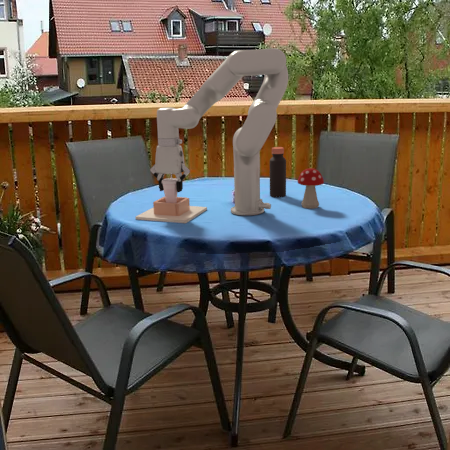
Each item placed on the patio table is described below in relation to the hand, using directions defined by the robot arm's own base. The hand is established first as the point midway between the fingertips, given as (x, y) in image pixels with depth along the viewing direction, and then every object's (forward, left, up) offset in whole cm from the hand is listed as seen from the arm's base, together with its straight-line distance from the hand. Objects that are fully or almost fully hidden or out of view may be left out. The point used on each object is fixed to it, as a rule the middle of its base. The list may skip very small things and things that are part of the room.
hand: (170, 190), depth 222 cm
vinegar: (-30, -39, -9) cm, 50 cm away
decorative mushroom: (-47, -24, -9) cm, 54 cm away
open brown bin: (0, 0, -9) cm, 9 cm away
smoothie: (0, 0, -6) cm, 6 cm away
